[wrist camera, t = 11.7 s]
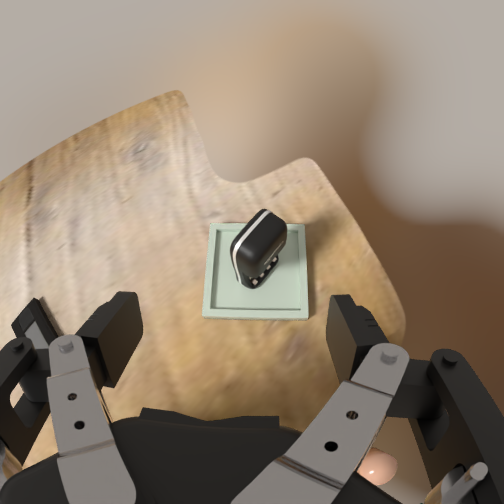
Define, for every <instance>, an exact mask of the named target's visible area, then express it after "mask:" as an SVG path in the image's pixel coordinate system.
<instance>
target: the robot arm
mask: <svg viewBox="0 0 504 504" xmlns="http://www.w3.org/2000/svg"><path fill="white" fill-rule="evenodd" d="M142 335H143V322H142V317H141V312H140V307H139V301H138V296H137V294H136V293H135V292H122V291H119V292H117V293H116V294H115V296H114V297H113V298H112V299H111V300H110V301H109V302H106V303H105V304H103V305H101V306H100V307H98V308H97V309H96V311H95V312H94V313H93V315H91V316H90V317H89V319H88V320H87V321H86V322H85V323H84V324H83V325H82V327H81V328H80V329H79V330H78V331H77V332H76V334H75V335H64V336H61V337H58V338H56V339H55V340H54V341H52V343H51V344H50V345H49V348H45V349H35V347H34V345H33V342H32V340H31V339H30V338H27V337H19V338H15V339H13V340H11V341H10V342H8V343H7V344H6V345H5V346H4V347H3V348H2V350H1V351H0V504H402V503H401V502H399V501H398V500H396V499H394V498H393V497H391V496H390V495H388V494H387V493H386V492H384V491H383V490H381V489H380V488H378V487H377V486H376V485H374V484H373V483H371V482H370V481H368V480H367V479H366V478H364V477H363V476H362V475H360V474H359V473H357V471H358V470H359V468H360V466H361V465H362V463H363V461H364V459H365V457H366V456H367V454H368V452H369V450H370V448H371V446H372V445H373V443H374V441H375V439H376V437H377V435H378V433H379V431H380V430H381V428H382V426H383V424H384V421H385V419H386V417H387V416H388V417H399V418H408V420H409V423H410V425H411V428H412V431H413V433H414V436H415V439H416V442H417V445H418V447H419V450H420V453H421V456H422V459H423V462H424V465H425V468H426V471H427V474H428V478H429V481H430V484H431V487H432V491H431V492H430V493H429V494H428V495H427V497H426V499H425V503H424V504H504V417H503V415H502V413H501V412H500V410H499V409H498V407H497V405H496V404H495V402H494V401H493V399H492V397H491V396H490V394H489V393H488V391H487V390H486V388H485V387H484V386H483V384H482V382H481V381H480V379H479V378H478V376H477V375H476V373H475V372H474V371H473V369H472V368H471V366H470V365H469V364H468V362H467V361H466V359H465V358H464V357H463V356H462V355H461V354H460V353H458V352H456V351H454V350H451V349H439V350H436V351H435V352H434V353H433V354H432V356H431V359H430V361H425V360H414V359H409V355H408V353H407V352H406V350H404V349H403V348H402V347H400V346H398V345H395V344H391V343H389V341H388V340H387V338H386V336H385V335H384V333H383V331H382V330H381V328H380V327H379V326H378V323H377V322H376V320H375V318H374V317H373V315H372V314H371V312H370V311H369V310H367V309H366V308H364V307H363V306H356V304H355V303H354V301H353V299H352V298H351V296H350V295H349V294H347V295H331V297H330V302H329V310H328V318H327V325H326V340H327V344H328V347H329V351H330V354H331V357H332V360H333V363H334V366H335V369H336V373H337V376H338V379H339V382H340V386H339V387H338V389H337V390H336V392H335V393H334V394H333V396H332V397H331V398H330V400H329V401H328V402H327V404H326V405H325V406H324V407H323V409H322V410H321V411H320V413H319V414H318V415H317V416H316V418H315V419H314V420H313V421H312V423H311V424H310V425H309V426H308V427H307V429H306V430H305V431H304V432H300V431H298V430H295V429H292V428H288V427H284V426H279V416H241V417H235V418H229V419H222V420H214V421H204V420H200V419H197V418H193V417H190V416H187V415H183V414H180V413H177V412H174V411H166V410H158V409H150V408H144V407H143V408H142V410H141V413H140V416H139V417H130V418H125V419H121V420H118V421H115V422H113V420H112V417H111V415H110V412H109V410H108V407H107V405H106V402H105V399H104V397H103V394H102V392H101V389H102V387H103V386H105V387H111V388H115V386H116V384H117V382H118V380H119V378H120V377H121V375H122V373H123V371H124V369H125V367H126V365H127V364H128V362H129V360H130V358H131V356H132V354H133V353H134V351H135V349H136V347H137V345H138V343H139V342H140V340H141V338H142ZM18 382H19V384H20V386H21V388H22V390H23V392H24V393H23V395H22V396H21V398H20V399H19V401H18V402H17V404H16V405H15V407H14V408H13V407H12V406H11V403H10V394H11V392H12V391H13V389H14V388H15V387H16V385H17V384H18ZM446 410H447V411H446ZM50 412H51V416H52V422H53V428H54V433H55V438H56V442H57V447H58V451H59V452H58V453H56V454H54V455H52V456H50V457H48V458H46V459H44V460H42V461H40V462H38V463H36V464H34V465H32V466H30V467H28V468H26V469H24V470H22V466H23V464H24V462H25V460H26V458H27V456H28V454H29V452H30V450H31V448H32V446H33V444H34V442H35V440H36V438H37V436H38V434H39V433H40V431H41V429H42V427H43V425H44V423H45V421H46V420H47V418H48V416H49V414H50ZM447 412H448V413H447ZM448 415H449V416H448Z"/></svg>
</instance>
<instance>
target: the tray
mask: <svg viewBox="0 0 504 504" xmlns="http://www.w3.org/2000/svg"><path fill="white" fill-rule="evenodd" d="M246 224H247V223H210V232H209V242H208V252H207V262H206V273H205V285H204V297H203V309H202V316H203V318H208V319H234V320H307V319H308V286H307V262H306V242H305V225H304V224H286V225H287V240H286V245H285V246H284V248H283V249H282V250H281V251H280V253H279V254H278V257H279V261H278V263H277V264H276V266H275V267H274V268H273V269H272V271H271V272H270V273H269V274H268V276H267V277H266V278H265V279H264V280H263V282H262V283H261V284H260V285H259V286H258V287H257V288H256V289H249V288H247V287H245V286H244V285H241V284H240V283H239V282H238V281H237V279H236V274H235V270H234V268H233V265H232V261H231V256H230V246H231V243H232V241H233V240H234V238H235V237H236V236H237V235H238V233H239V232H240V231H241V230H242V229H243V228H244V227H245V226H246Z"/></svg>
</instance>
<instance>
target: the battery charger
mask: <svg viewBox="0 0 504 504" xmlns="http://www.w3.org/2000/svg"><path fill="white" fill-rule="evenodd" d="M286 240H287V225H286V223H285V222H284V221H283V220H282V219H281V218H279V217H278V216H276V215H275V214H273V212H271V211H270V210H267V209H262V210H260V211H259V212H258V213H257V214H256V215H255V216H254V217H253V218H252V219H251V220H250V221H249V222H248V223H247V224H246V226H245V227H244V228H243V229H242V230H241V231H240V232H239V233H238V235H237V236H236V237H235V238H234V240H233V241H232V243H231V246H230V256H231V261H232V265H233V268H234V270H235V274H236V279H237V281H238V282H239V283H240V284H241V285H244V286H245V287H247V288H249V289H256V288H257V287H258V286H259V285H260V284H261V283H262V282H263V280H264V279H265V278H266V277H267V276H268V274H269V273H270V272H271V271H272V269H273V268H274V267H275V266H276V264H277V263H278V261H279V257H278V254H279V253H280V251H281V250H282V249H283V248H284V246H285V245H286Z"/></svg>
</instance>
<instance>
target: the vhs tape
mask: <svg viewBox="0 0 504 504" xmlns="http://www.w3.org/2000/svg"><path fill="white" fill-rule="evenodd" d="M11 326H12V328H13V331H14V333H15V335H16V337H17V338H19V337H27V338H30V339H31V340H32V342H33V345H34V347H35V349H45V348H49V345H50V344H51V343H52V341H54V340H55V339H56V338H58V335H57V333H56V332H55V330H54V328H53V326H52V324H51V323H50V321H49V319H48V317H47V315H46V314H45V312H44V310H43V308H42V306H41V304H40V302H39V300H37V299H35V298H33V300H31V301H30V302H29V304H28V305H27V306H26V307H25V308H24V309H23V311H22V312H21V313H20V314H19V315H18V317H17V318H16V319H15V320H14V322H13V323H12V324H11Z"/></svg>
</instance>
